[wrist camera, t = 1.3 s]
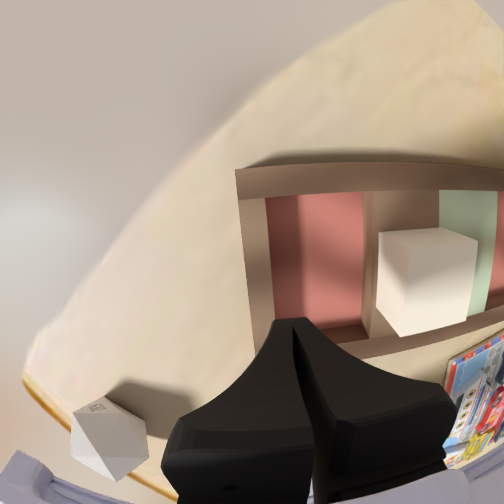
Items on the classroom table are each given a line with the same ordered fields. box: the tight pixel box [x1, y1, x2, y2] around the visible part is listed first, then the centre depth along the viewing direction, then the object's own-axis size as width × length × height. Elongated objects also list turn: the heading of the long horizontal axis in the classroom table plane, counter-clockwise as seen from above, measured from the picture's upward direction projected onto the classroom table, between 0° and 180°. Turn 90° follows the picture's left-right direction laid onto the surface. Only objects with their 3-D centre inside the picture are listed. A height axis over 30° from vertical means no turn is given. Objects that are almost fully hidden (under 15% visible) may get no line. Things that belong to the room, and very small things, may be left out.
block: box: [376, 227, 478, 337], centre depth 15 cm, size 5×5×4 cm
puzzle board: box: [443, 329, 504, 468], centre depth 23 cm, size 30×23×3 cm
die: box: [71, 396, 149, 482], centre depth 21 cm, size 8×9×10 cm
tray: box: [235, 162, 504, 360], centre depth 18 cm, size 14×28×2 cm, turn 96°
